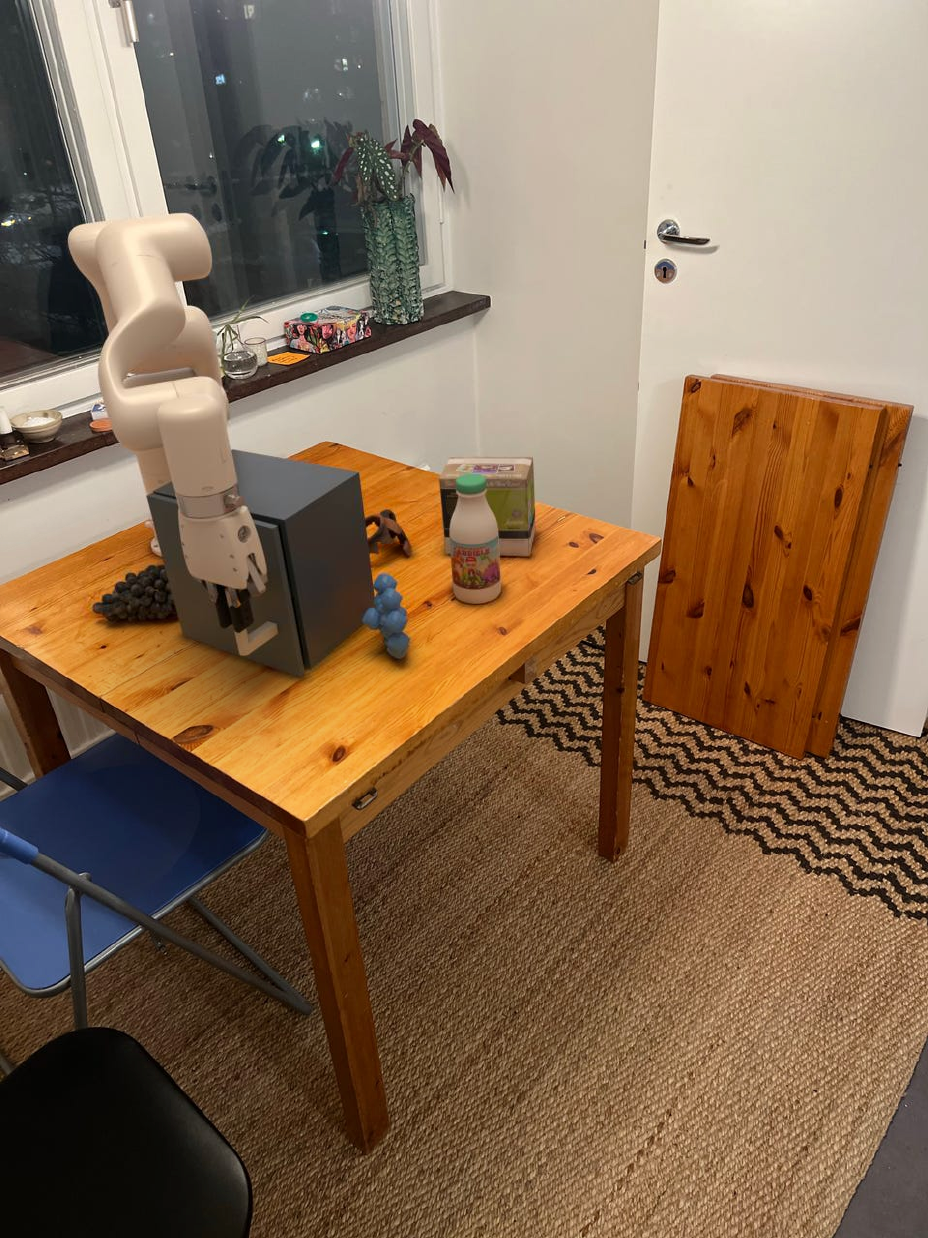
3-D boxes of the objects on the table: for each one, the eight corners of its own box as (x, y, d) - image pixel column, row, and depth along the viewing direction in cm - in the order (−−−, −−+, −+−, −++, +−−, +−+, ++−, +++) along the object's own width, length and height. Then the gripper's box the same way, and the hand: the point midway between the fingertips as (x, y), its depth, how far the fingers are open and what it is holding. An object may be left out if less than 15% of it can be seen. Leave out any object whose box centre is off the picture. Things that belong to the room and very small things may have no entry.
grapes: (359, 634, 139) (349, 565, 133) (402, 626, 140) (394, 557, 134) (374, 676, 129) (364, 604, 123) (420, 666, 131) (413, 594, 124)
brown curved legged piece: (413, 567, 157) (385, 536, 152) (368, 585, 161) (340, 555, 156) (419, 521, 165) (393, 490, 160) (376, 539, 169) (350, 509, 164)
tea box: (536, 532, 165) (534, 455, 157) (529, 558, 156) (528, 478, 148) (454, 529, 167) (449, 453, 159) (443, 555, 159) (437, 477, 151)
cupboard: (311, 670, 132) (284, 519, 119) (188, 632, 142) (152, 491, 130) (377, 613, 144) (359, 471, 131) (259, 582, 155) (232, 448, 142)
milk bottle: (451, 583, 151) (443, 470, 140) (498, 579, 151) (493, 466, 140) (455, 607, 144) (446, 491, 134) (503, 602, 145) (499, 486, 134)
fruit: (77, 580, 140) (177, 564, 141) (90, 571, 148) (185, 556, 149) (91, 634, 142) (189, 618, 143) (103, 622, 150) (196, 607, 151)
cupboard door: (269, 703, 125) (236, 550, 113) (149, 657, 137) (108, 514, 124) (305, 674, 131) (277, 525, 118) (187, 632, 142) (151, 492, 129)
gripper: (278, 497, 111) (301, 625, 120) (184, 477, 118) (213, 599, 128) (236, 522, 105) (264, 654, 115) (140, 499, 112) (174, 625, 122)
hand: (237, 624), depth 121 cm, fingers closed on cupboard door
